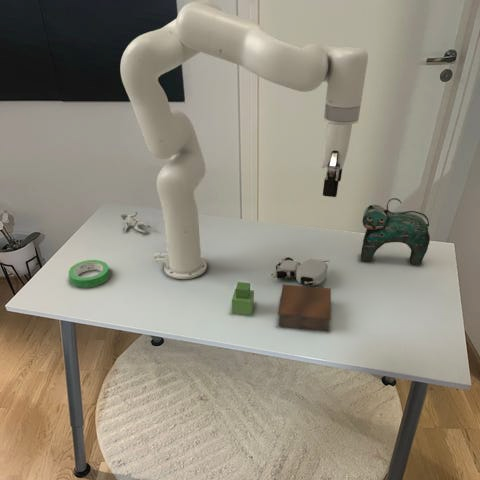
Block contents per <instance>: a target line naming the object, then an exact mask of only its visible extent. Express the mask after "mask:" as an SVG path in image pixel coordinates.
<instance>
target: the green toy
mask: <svg viewBox="0 0 480 480" xmlns="http://www.w3.org/2000/svg"><path fill="white" fill-rule="evenodd" d="M254 304H255V290H253V289H251V282H243V281H238V282H237V284H236V288H234V291H233V294H232V298H231V314H235V315H236V314H237V315H245V316H247V315H248V316H252V313H253V308H254Z"/></svg>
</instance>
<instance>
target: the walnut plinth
mask: <svg viewBox="0 0 480 480" xmlns="http://www.w3.org/2000/svg"><path fill="white" fill-rule="evenodd" d="M331 299H332V288H331V287H330V288H329V287H317V286H308V285H294V284H282V287H281V293H280V300H279V306H278V313H277V314H278V316H279V317H278V327H281V328H291V329H301V330H313V331H320V332H321V331H323V332H328V328H329V322H330V321H329V320H331V317H332V316H331V315H332V314H331V313H332V309H331V308H332V307H331V305H332V303H331V302H332V301H331Z"/></svg>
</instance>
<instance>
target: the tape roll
mask: <svg viewBox="0 0 480 480" xmlns="http://www.w3.org/2000/svg"><path fill="white" fill-rule="evenodd" d="M89 271H98V272H99V273H97V274H95V275H90V276H79V275H81V274H82V273H84V272H89ZM68 277H69V280H70V284H72V285H73V286H74V287H77V288H81V289H87V288H89V289H90V288H94V287H95V288H96V287H98V286H101V285H103V284H104V283H106V282H108V281H109V279H110V277H111V273H110V268H109V265H108V264H107V262H104V261H102V260H99V259H88V260H87V259H86V260H82V261H79V262H77V263H75V264H74V265H72V266H71V267H70V268H69V269H68Z"/></svg>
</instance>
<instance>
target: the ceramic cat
mask: <svg viewBox="0 0 480 480" xmlns="http://www.w3.org/2000/svg"><path fill="white" fill-rule="evenodd" d="M393 200H395V201H398V202H399V203H400V204H402V201H401V199H399V198H398V197H397V198H396V197H392V198H390V199H388V201H387V203H386V208H384V207H383V206H382V205H378V204H370V205H369V206H367V207H366V208H365V209H364V212H363V215H362V220H361V222H362V225H363V227H364V228H365V229H366V230H365V233H364V236H363V240H362V246H361V250H360V251H361V253H360V260H361V262H364V263H365V262H367V263H370V262H372V260H373V258H374V256H375V253H376V252H377V250H379V248H381V247H382V246H383V245H386V244H389V243H400V244H401V243H402V244H405V245H406V246H408V247H409V249H410V254H409V258H408V260H409V264H410V265H412V266H420V265H422V262H423V260H424V257H425V256H426V253H427V252H428V248H429V245H430V241H431V236H430V233H429V226H430V221H429V218H428V217H427V215H426V214H425V213H422V212H420V211H416V210H405V211H393V212H392V211H390V210H389V203H390V202H391V201H393ZM420 215H421V216H423V217H421V216H420ZM423 218H424V219H426V221H427V223H426V221H425V220H424V219H423Z"/></svg>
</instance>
